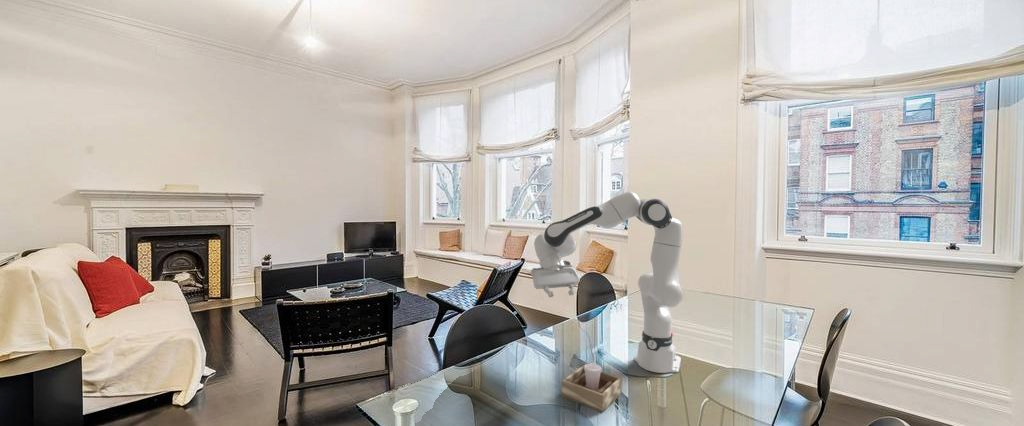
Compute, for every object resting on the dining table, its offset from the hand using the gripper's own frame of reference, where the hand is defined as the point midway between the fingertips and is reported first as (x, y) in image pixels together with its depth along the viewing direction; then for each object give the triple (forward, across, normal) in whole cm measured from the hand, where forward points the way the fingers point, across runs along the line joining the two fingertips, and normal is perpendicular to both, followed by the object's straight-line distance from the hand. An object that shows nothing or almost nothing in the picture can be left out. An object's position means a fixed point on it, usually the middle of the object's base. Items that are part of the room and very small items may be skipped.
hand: (561, 295), depth 164 cm
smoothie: (+37, +2, +6) cm, 37 cm away
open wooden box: (+38, +2, +7) cm, 38 cm away
